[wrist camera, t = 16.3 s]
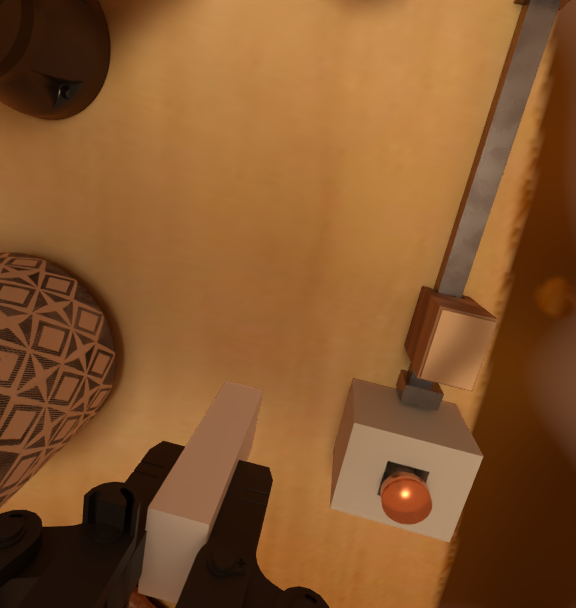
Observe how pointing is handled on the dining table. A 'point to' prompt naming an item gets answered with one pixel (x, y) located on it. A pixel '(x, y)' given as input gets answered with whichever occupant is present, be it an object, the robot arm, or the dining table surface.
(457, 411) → the knob base
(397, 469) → the push button
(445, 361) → the block
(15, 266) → the planter
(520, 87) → the rail
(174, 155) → the dining table surface
